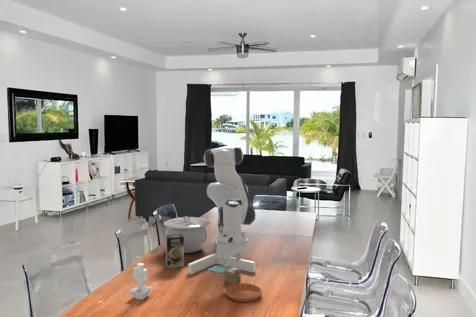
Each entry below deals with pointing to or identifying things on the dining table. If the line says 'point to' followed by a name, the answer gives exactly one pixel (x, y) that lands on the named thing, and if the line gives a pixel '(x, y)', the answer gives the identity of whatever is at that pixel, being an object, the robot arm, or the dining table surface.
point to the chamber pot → (189, 231)
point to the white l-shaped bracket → (213, 259)
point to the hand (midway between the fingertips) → (232, 263)
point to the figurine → (140, 282)
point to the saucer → (243, 292)
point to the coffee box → (174, 250)
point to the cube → (232, 275)
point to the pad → (218, 269)
